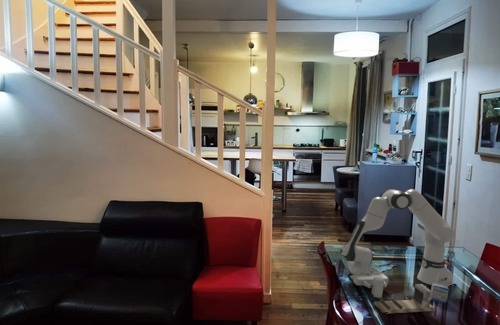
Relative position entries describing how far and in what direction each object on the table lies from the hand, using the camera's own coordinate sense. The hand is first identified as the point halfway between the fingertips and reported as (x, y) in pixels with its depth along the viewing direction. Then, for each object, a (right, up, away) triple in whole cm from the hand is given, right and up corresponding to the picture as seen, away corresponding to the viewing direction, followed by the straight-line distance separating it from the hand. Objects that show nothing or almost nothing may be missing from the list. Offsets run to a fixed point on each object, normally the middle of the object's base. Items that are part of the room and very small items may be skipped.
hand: (377, 286), depth 202 cm
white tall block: (0, -5, +1) cm, 6 cm away
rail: (+10, -8, -10) cm, 16 cm away
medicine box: (+34, -8, +2) cm, 35 cm away
